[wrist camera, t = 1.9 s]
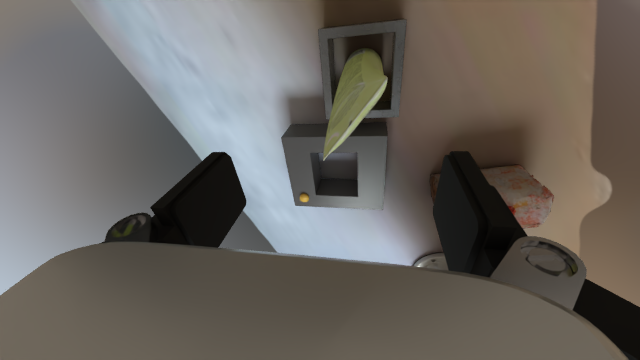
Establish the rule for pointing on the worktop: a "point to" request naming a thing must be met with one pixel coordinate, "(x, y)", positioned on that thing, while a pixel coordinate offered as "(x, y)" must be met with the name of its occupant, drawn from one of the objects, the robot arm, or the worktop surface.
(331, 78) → the gray square frame
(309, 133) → the port block
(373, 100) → the tube
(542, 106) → the worktop surface
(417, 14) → the worktop surface
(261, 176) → the worktop surface
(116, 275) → the robot arm
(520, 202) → the food item
